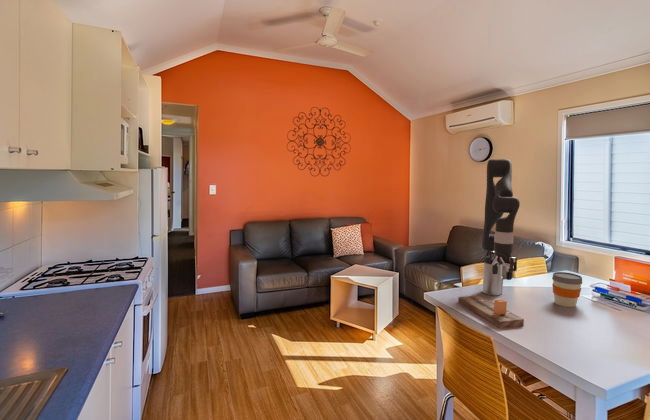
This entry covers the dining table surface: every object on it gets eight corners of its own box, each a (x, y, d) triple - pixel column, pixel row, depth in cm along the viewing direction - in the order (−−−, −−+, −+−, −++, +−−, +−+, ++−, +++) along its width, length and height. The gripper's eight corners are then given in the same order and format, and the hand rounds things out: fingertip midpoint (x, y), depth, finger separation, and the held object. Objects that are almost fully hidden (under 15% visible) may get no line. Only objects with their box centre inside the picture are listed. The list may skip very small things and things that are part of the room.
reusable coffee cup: (548, 304, 173) (550, 275, 171) (552, 297, 182) (554, 270, 180) (578, 310, 164) (581, 280, 163) (581, 303, 173) (584, 275, 172)
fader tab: (501, 311, 155) (502, 298, 155) (506, 313, 152) (506, 300, 152) (493, 312, 154) (494, 299, 154) (498, 314, 152) (499, 301, 151)
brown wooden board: (478, 300, 177) (478, 295, 177) (523, 325, 148) (523, 318, 147) (458, 302, 174) (458, 296, 174) (499, 328, 145) (500, 321, 145)
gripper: (523, 244, 144) (521, 281, 146) (499, 238, 158) (497, 271, 160) (508, 245, 142) (506, 282, 144) (485, 238, 156) (483, 272, 158)
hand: (501, 276), depth 152 cm, fingers open, 8 cm apart
